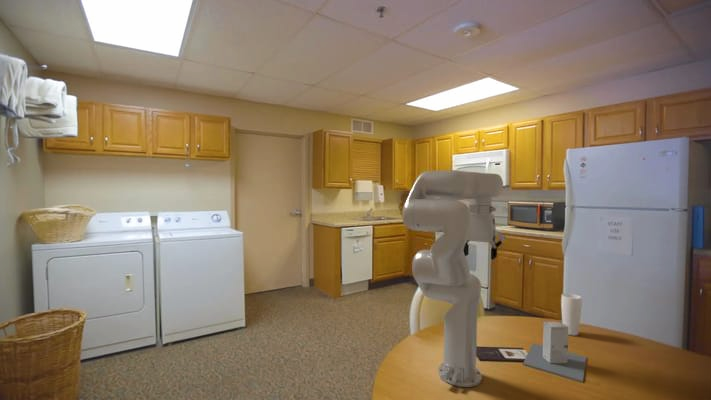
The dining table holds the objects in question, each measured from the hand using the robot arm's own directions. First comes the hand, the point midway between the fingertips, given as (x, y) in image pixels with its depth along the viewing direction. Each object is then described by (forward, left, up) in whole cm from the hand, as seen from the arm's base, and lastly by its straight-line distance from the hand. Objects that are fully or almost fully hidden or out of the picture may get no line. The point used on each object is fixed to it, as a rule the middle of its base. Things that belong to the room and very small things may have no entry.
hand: (479, 257), depth 119 cm
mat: (+4, -24, -32) cm, 40 cm away
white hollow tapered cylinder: (+33, -26, -32) cm, 53 cm away
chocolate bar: (-2, -9, -33) cm, 34 cm away
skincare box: (+4, -24, -32) cm, 40 cm away
